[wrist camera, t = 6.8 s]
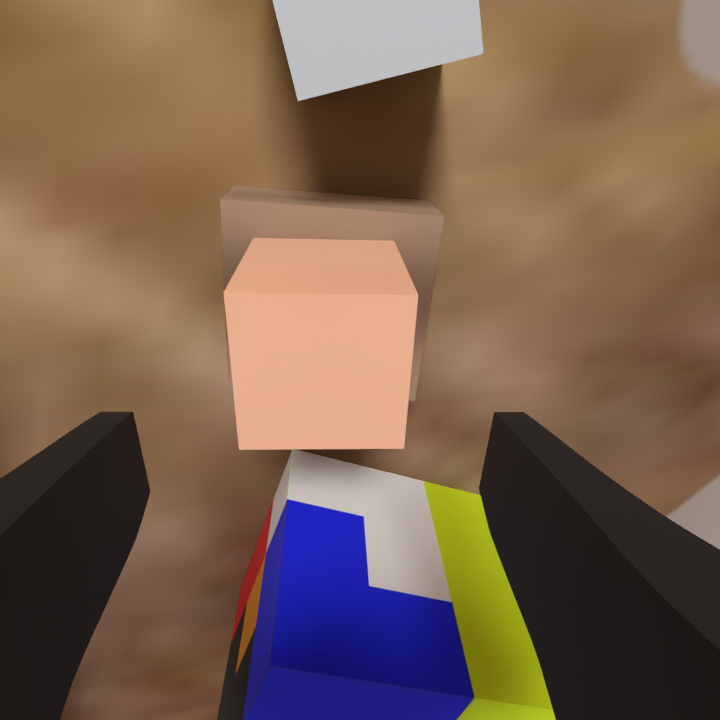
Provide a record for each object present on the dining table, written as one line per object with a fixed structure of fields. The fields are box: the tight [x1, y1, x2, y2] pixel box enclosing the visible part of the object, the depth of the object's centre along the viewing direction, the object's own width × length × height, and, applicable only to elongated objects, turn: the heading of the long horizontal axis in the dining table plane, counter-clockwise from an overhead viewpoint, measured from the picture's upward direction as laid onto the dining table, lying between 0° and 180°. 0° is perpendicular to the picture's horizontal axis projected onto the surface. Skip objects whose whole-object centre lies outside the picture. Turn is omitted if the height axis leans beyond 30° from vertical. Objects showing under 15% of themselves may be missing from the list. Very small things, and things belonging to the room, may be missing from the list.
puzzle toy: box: [217, 449, 556, 720], centre depth 22 cm, size 10×10×10 cm
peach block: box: [224, 238, 418, 450], centre depth 15 cm, size 4×4×5 cm
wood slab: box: [220, 185, 445, 401], centre depth 18 cm, size 7×7×3 cm
